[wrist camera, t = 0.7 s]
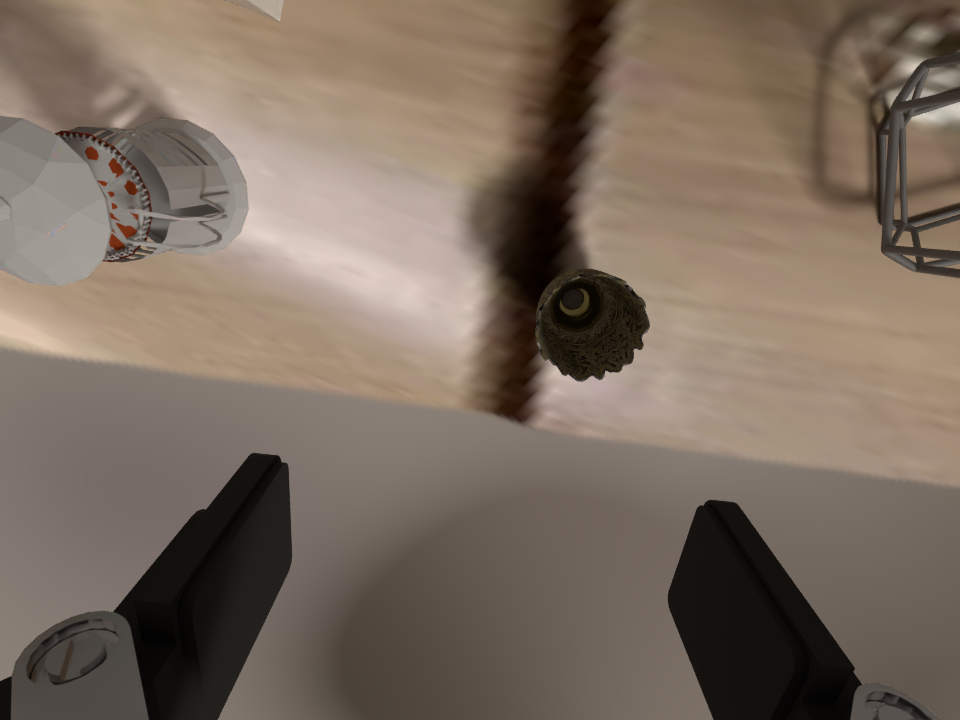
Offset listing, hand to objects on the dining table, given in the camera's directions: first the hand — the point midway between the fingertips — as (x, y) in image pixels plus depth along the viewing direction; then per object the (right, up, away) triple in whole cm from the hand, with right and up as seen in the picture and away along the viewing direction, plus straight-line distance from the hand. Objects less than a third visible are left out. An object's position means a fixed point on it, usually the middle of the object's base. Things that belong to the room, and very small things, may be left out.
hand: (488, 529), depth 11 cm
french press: (-22, +16, +26) cm, 38 cm away
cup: (+7, +9, +29) cm, 31 cm away
